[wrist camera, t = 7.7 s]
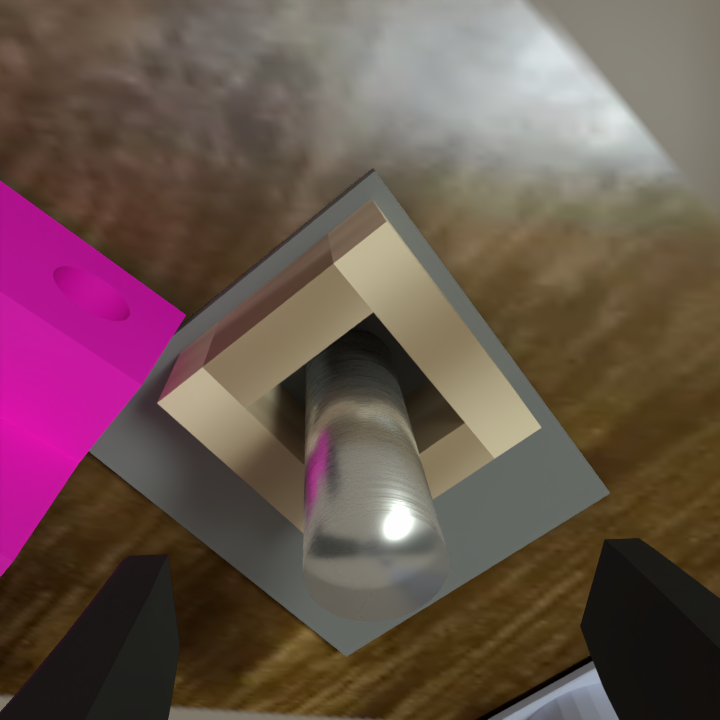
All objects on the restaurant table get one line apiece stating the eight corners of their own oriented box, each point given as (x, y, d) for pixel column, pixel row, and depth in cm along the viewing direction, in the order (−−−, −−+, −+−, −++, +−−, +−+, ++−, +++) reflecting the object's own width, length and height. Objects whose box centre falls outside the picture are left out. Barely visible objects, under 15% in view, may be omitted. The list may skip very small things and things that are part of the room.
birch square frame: (505, 376, 18) (541, 427, 15) (331, 497, 19) (336, 563, 17) (371, 198, 15) (386, 221, 13) (180, 352, 17) (157, 403, 14)
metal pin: (409, 372, 18) (476, 575, 10) (341, 419, 18) (361, 641, 11) (357, 310, 17) (393, 487, 9) (288, 362, 17) (271, 565, 10)
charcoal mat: (603, 484, 21) (610, 493, 20) (345, 645, 23) (346, 656, 23) (372, 168, 15) (374, 170, 15) (65, 419, 18) (59, 428, 17)
